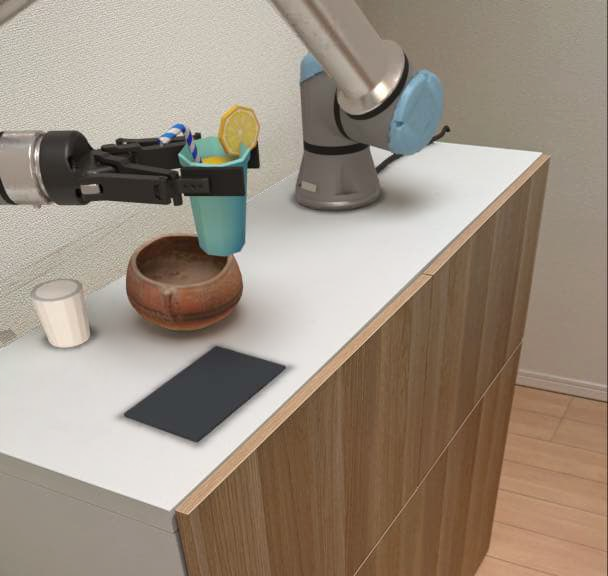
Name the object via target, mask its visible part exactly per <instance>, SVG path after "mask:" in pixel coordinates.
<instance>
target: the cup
mask: <svg viewBox="0 0 608 576" xmlns="http://www.w3.org/2000/svg"><path fill="white" fill-rule="evenodd" d="M256 115H257V114H256V113H255V110H254V109H253V108H250V107H247V106H244V105H238V104H234V105H233V106H232V107H230V109H228V110H227V111H226V112H225V113H224V114H223V115H221V117H220V121H219V127H218V133H217V136H213V135H210V136H206V137H201V138H202V139H198V140H194V139H193V136H192V135H193V134H192V131H191V128H189V127H188V126H187V124H186V123H184V122H181V121H178V122H176V123H175V124H174V125H172V126H171V127H170V128H169V129H168V130H167V131H165V132H164V133H163V134H161V136H159V137H160V138H158V137H157V138H158V139H157V142H158V144H159V145H160V146H162V147H163V146H165V145H166V144H167V143H168V142H170V141H171V140H172V139H173V138H174V137H176V136H179V135H180V134H181V133H182V136H184V138H185V141H186V143H187V144H186V145H185V146H184V148H183V149H182V150H181V152H180V153H179V154H178V157H179V161H180V164H181V165H182V166H183V167H233V166H243V171H244V181H245V192H246V194H245V196H188V197H189V202H190V206H191V212H192V216H193V221H194V225H195V230H196V234H197V236H198V241H199V245H200V248H201V249H203V250H204V251H205V252H206V253H207V254H208V255H217V256H228V255H231V254H233V255H234V254H237V253H240V252H242V250H243V248H244V246H245V245H246V233H247V231H246V230H247V229H246V227H247V196H248V195H247V194H248V193H247V191H248V169H247V163H248V161H249V159H250V151H251V150H252V149H253V148H254V147H255V146H256V143H257V141H258V138H259V133H260V130H261V125H260V122H259V120H258V118H257V116H256Z"/></svg>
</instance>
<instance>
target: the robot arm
mask: <svg viewBox="0 0 608 576" xmlns="http://www.w3.org/2000/svg"><path fill="white" fill-rule="evenodd" d="M38 2H40V0H0V29H2V28H3V27H4V26H6V25H8V24H10V23H11V22H12V21H13V20H14V19H16V18H17V17H18V16H20V15H21V14H23V13H24V12H25V11H26V10H29V8H31V7H33V6H34V5H35V4H37V3H38ZM266 2H267V3H268V5H270V7H271V8H272V9H273V10H274V11H275V12H276V14H277V15H278V17H280V19H281V20H282V21H283V22H284V23H285V25H286V26H287V27H288V28H289V30H290V31H291V33H293V35H294V36H295V37H296V38H297V39H298V41H299V42H300V43H301V44H302V45H303V47H304V48H305V49H306V50H307V52H308V53H307V54H305V55H304V56H303V57H302V59H301V60H300V66H299V67H300V68H299V71H300V72H299V81H298V85H299V92H300V93H299V94H300V110H301V128H302V139H303V140H302V142H303V143H302V144H303V153H302V157H301V161H300V165H299V169H298V173H297V178H296V182H295V190H294V191H295V192H294V193H295V200H296V201H297V203H299V204H300V205H302V206H304V207H306V208H309V209H313V210H319V211H346V210H347V211H348V210H354V209H358V208H362V207H366V206H368V205H371V204H372V203H374V202H375V201H377V200H378V198H379V197H380V195H381V194H380V193H381V192H380V189H381V188H380V187H381V185H380V180H379V177H378V173H379V172H380V171H382V170H383V169H384V168H385V167H386V166H387V165H388V164H389V163H391V162H392V161H393V160H395V159H397V158H399V157H402V156H414V155H415V154H417V153H420V152H421V151H423V150H424V149H425V148H426V147H427V146H428V145H429V144H432V143H434V142H437V141H438V140H440V139H442V138H443V137H444V136H445V135H446V133H450V132H451V127H449V126H448V125H447V124H446V125H443V127H442V130H441V131H440V132H439V133H438V134H436V132H437V130H438V128H439V125H440V123H441V120H442V115H443V108H444V103H445V95H444V93H445V92H444V87H443V84H442V82H441V79H440V78H439V77H438V75H436V74H435V73H433V72H431V71H430V70H428V69H419V68H417V67H415V65H414V64H413V63H412V62H411V60H410V58H409V57H408V56H407V54H406V53H405V51H404V50H403V49H402V47H401V46H400V44H398V42H396V41H394V40H390V39H382V38H381V37H380V36H379V34H378V33H377V31H376V30H375V28H374V27H373V25H372V24H371V22H370V21H369V20H368V18H367V16H366V15H365V14H364V13H363V11H362V9H361V8H360V7H359V6H358V4H357V2H356V1H355V0H266ZM435 134H436V135H435ZM192 136H193V139H194V140H198V139H202V138H203V137H202V133H201V132H196V131H195V132H194V134H192ZM160 137H161V136H159V137H145V138H126V137H125V138H124V137H123V138H122V137H118V138H116V139H115V140H114V142H115V143H106V144H102V145H100V148H94V147H93V146H92V145H91V144H90V142H89V140H88V139H87V137H86V136H85V135H84V134H83V133H82V132H81V131H79V130H75V129H72V130H69V129H67V130H65V129H64V130H48V131H44V130H42V129H41V130H38V129H37V130H2V131H0V206H27V205H28V206H32V208H33V209H34V210H40V209H41V208H42V206H52V205H54V204H55V205H57V206H87V205H89V204H90V203H92V202H119V203H132V204H145V205H147V204H148V205H163V206H169V205H170V204H172V203H173V207H179V206H182V205H183V204H184V200H183V197H189V196H245V194H246V192H245V181H244V171H243V166H233V167H183V166H182V165H181V164H180V161H179V157H178V154H179V153H180V152H181V150H182V149H183V148H184V146H185V145H186V144H187V143H186V141H185V138H184V135H177V136H176V137H174V138H173V139H172V140H171V141H170V142H168V143H167V144H166V145H165V146H163V147H162V146H160V145H159V144H158V142H157V139H158V138H160ZM371 147H373V148H376V149H380V150H383V151H387V152H390V153H391V155H389V156H388V157H386V158H385V159H384V160H383V161H382V162H381V163H379V164H378V165H377V166H375V162H374V159H373V156H372V151H371ZM260 168H261V160H260V149H259V140H257V143H256V146H255V147H254V148H253V149H252V150H251V151H250V159H249V161H248V163H247V170H252V169H253V170H255V169H258V170H259V169H260ZM178 169H179V171H180V173H179V171H178Z"/></svg>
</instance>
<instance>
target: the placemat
mask: <svg viewBox="0 0 608 576" xmlns="http://www.w3.org/2000/svg"><path fill="white" fill-rule="evenodd" d="M286 367H287V366H286V365H284V364H280V363H277V362H274V361H270V360H266V359H263V358H259V357H257V356H253V355H250V354H246V353H243V352H239V351H235V350H233V349H229V348H225V347H223V346H222V347H221V346H218V345H215V346H214V347H212V348H211V349H210V350H208V351H207V352H205V353H204V354H203V355H201V356H200V357H199V358H197V359H196V360H194V361H193V362H192V363H190V364H189V365H188V366H186V367H185V368H184V369H183V370H181V371H180V372H178V373H177V374H176V375H174V376H173V377H171V378H170V379H169V380H167V381H166V382H165V383H163V384H162V385H161V386H159V387H158V388H157V389H155V390H153V392H151V393H150V394H148V395H147V396H146V397H144V398H142V399H141V400H140V401H139V402H137V403H136V404H135V405H133V406H132V407H131V408H129V409H128V410H127V411H125V412H124V413H123V417H125V418H128V419H130V420H134V421H136V422H139V423H141V424H144V425H148V426H150V427H152V428H156V429H159V430H161V431H164V432H167V433H170V434H173V435H175V436H178V437H181V438H184V439H186V440H189V441H192V442H195V443H199V442H200V441H201V440H202V439H203V438H205V437H206V436H207V435H209V434H210V433H211V432H212V431H213V430H214V429H215V428H216V427H218V426H219V425H221V423H223V422H224V421H225V420H226V419H228V418H229V417H230V416H231V415H232V414H233V413H235V412H236V411H237V410H238V409H239V408H241V407H242V406H243V405H244V404H245V403H247V402H248V401H249V400H250V399H251V398H252V397H254V396H255V395H256V394H257V393H258V392H259V391H261V390H262V389H263V388H264V387H266V386H267V385H268V384H269V383H271V382H272V381H273V380H274V379H275V378H276V377H278V376H279V375H280V374H281V373H282V372H283V371H285V370H286Z"/></svg>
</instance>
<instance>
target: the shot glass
mask: <svg viewBox="0 0 608 576" xmlns="http://www.w3.org/2000/svg"><path fill="white" fill-rule="evenodd" d="M29 295H30V298H31V301H32V304H33V306H34V309H35V311H36V313H37V315H38V318H39V321H40V323H41V325H42V328H43V330H44V332H45V335H46V338H47V340H48V343H49V344H51V345H52V347H55V348H62V349H63V348H67V349H68V348H72V347H76V346H79V345H83V344H84V343H85V342H87V341H88V340H89V338H90V337H91V329H90V323H89V317H88V312H87V306H86V305H87V304H86V299H85V293H84V287H83V283H82V282H81V281H79V280H78V279H74V278H56V279H50V280H47V281H43V282H41V283H39V284H37V285H36V286H34V287H33V288H32V289H31V291H30V292H29Z"/></svg>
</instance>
